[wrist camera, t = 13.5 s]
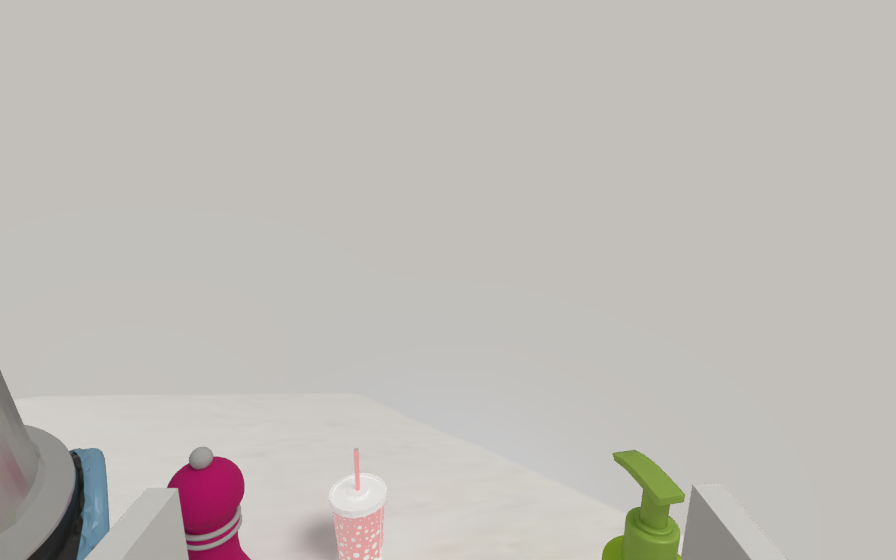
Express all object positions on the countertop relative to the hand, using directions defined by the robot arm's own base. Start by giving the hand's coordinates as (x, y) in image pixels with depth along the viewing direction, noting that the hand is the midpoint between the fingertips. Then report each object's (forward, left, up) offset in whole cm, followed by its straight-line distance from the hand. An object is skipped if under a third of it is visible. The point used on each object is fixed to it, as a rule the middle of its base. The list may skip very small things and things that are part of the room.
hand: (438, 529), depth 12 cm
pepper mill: (-31, -5, -34) cm, 46 cm away
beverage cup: (-33, +9, -34) cm, 49 cm away
